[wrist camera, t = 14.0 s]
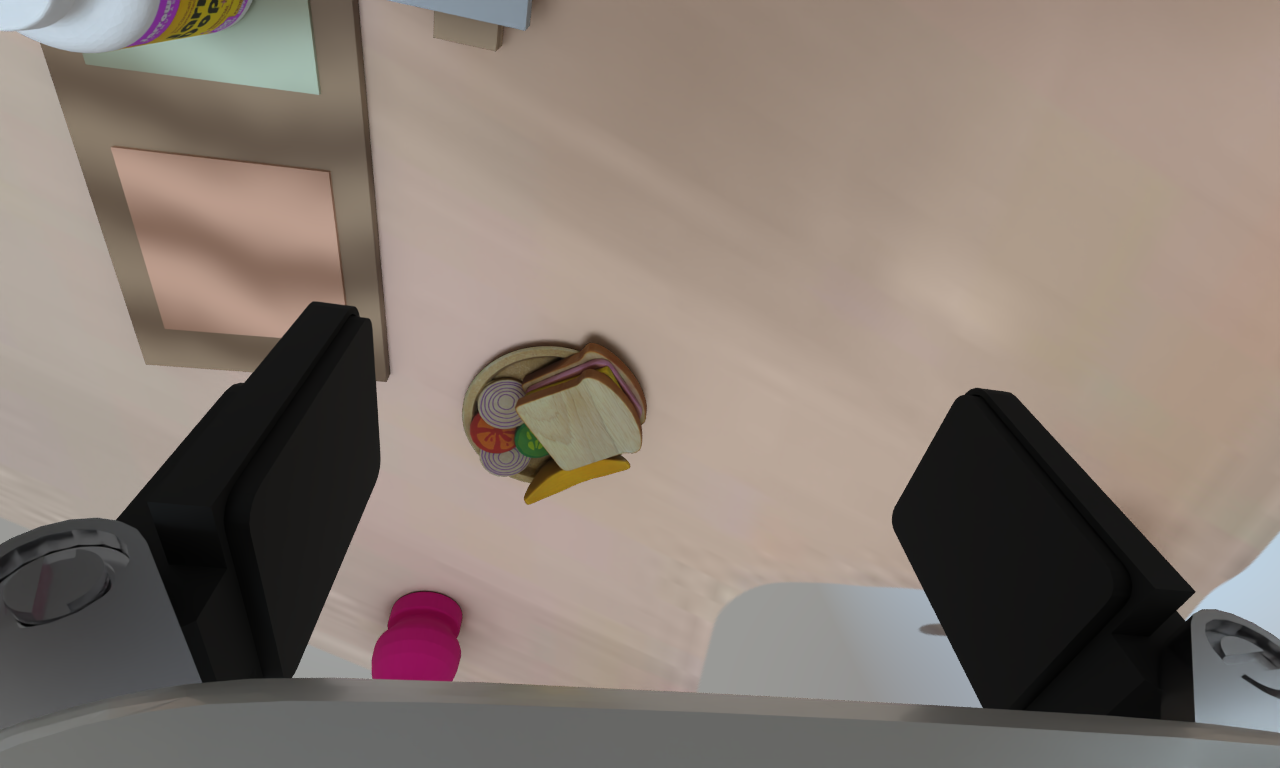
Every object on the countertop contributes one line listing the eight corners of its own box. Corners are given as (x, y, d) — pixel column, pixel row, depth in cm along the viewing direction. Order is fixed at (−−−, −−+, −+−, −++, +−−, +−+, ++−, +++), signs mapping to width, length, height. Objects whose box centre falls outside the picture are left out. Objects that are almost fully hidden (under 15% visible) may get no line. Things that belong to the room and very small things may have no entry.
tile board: (-67, -341, 25) (-96, -354, 24) (335, -258, 27) (325, -268, 26) (154, 356, 42) (143, 366, 41) (390, 373, 44) (385, 384, 43)
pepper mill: (371, 599, 57) (284, 862, 40) (445, 578, 56) (388, 837, 39) (410, 644, 61) (346, 901, 44) (480, 625, 60) (442, 879, 43)
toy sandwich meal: (432, 371, 45) (418, 411, 41) (612, 309, 43) (616, 344, 39) (509, 493, 52) (503, 537, 48) (667, 443, 50) (675, 484, 46)
